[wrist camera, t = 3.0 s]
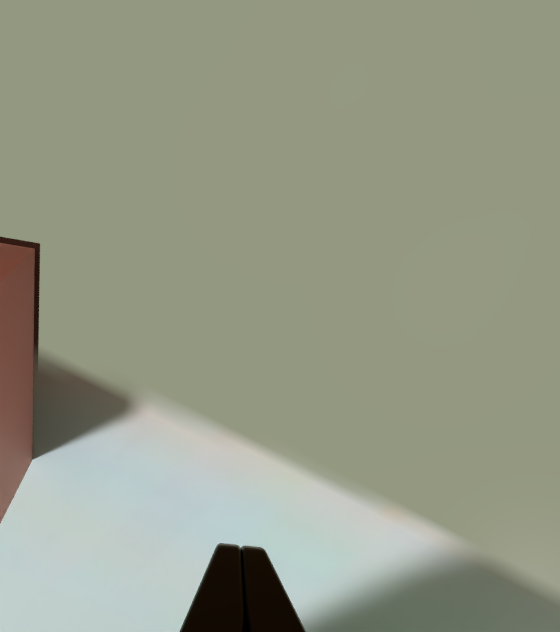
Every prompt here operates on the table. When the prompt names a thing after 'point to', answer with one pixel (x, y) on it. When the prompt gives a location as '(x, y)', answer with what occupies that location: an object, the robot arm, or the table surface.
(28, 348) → the block
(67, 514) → the table surface
